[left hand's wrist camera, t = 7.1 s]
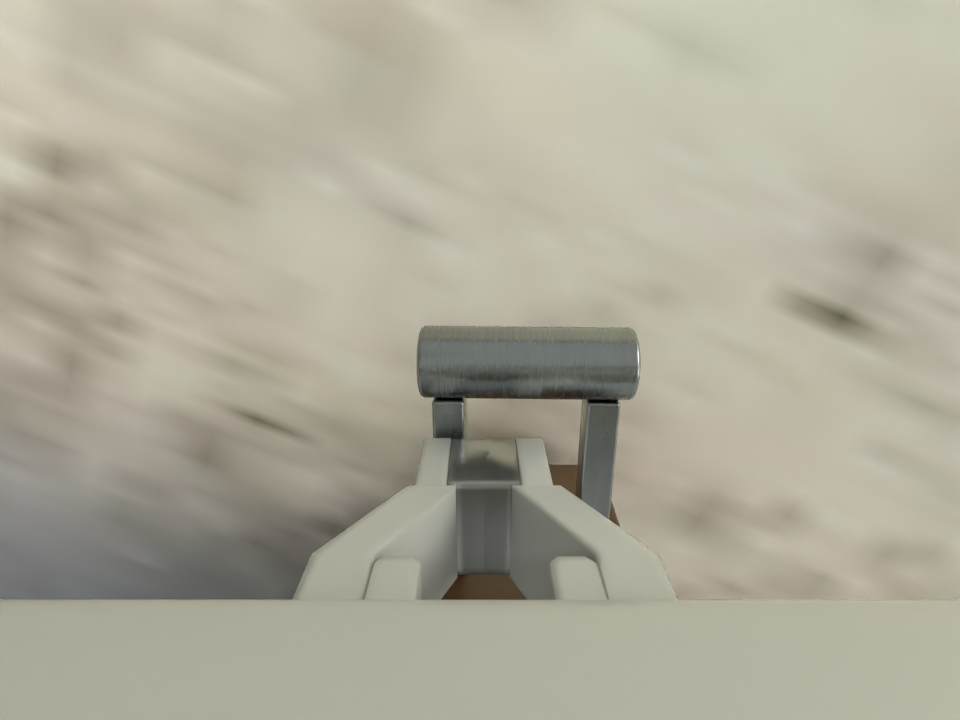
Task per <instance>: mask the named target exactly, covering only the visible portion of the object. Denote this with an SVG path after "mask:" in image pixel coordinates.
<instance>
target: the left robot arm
mask: <svg viewBox="0 0 960 720" xmlns="http://www.w3.org/2000/svg"><path fill="white" fill-rule="evenodd" d="M475 574H492V575H510V578H511V579H512V581H513V582H514V583H515V585H516V586H517V587H518V588H519V590H520V591H521V592H522V594H523V595H524V596H525V598H526V599H527V600H441V599H442V597H443V596H444V595H445V593H446V592H447V591H448V589H449V588H450V587H451V586H452V584H453V583H454V582H455V580H456V579H457V578H458V576H457V575H475ZM0 720H960V600H678V597H677V595H676V593H675V591H674V588H673V586H672V584H671V581H670V579H669V577H668V575H667V572H666V570H665V568H664V565H663V563H662V561H661V559H660V556H659V555H658V554H657V553H655V552H654V551H653V550H651V549H650V548H648V547H647V546H645V545H644V544H643V543H641V542H640V541H638V540H637V539H636V538H634V537H633V536H631V535H630V534H629V533H627V532H626V531H624V530H623V529H621V528H620V527H619V526H617V525H616V524H614V523H613V522H612V521H610V520H609V519H607V518H606V517H605V516H603V515H602V514H600V513H599V512H597V511H596V510H595V509H593V508H592V507H590V506H589V505H588V504H586V503H585V502H583V501H582V500H581V499H579V498H578V497H576V496H575V495H573V494H572V493H571V492H569V491H568V490H566V489H565V488H564V487H562V486H561V485H553V482H552V478H551V473H550V469H549V464H548V460H547V455H546V451H545V446H544V442H543V439H542V438H519V439H515V438H505V439H467V438H452V440H451V438H425V440H424V441H423V445H422V450H421V455H420V460H419V465H418V470H417V476H416V481H415V485H407V486H406V487H404V488H403V489H401V490H400V491H399V492H397V493H396V494H394V495H393V496H392V497H390V498H389V499H388V500H386V501H385V502H383V503H382V504H381V505H379V506H378V507H376V508H375V509H374V510H372V511H371V512H369V513H368V514H367V515H365V516H364V517H362V518H361V519H360V520H358V521H357V522H356V523H354V524H353V525H351V526H350V527H349V528H347V529H346V530H344V531H343V532H342V533H340V534H339V535H337V536H336V537H335V538H333V539H332V540H330V541H329V542H328V543H326V544H325V545H324V546H322V547H321V548H319V549H318V550H317V551H315V552H314V553H312V554H311V556H310V559H309V561H308V563H307V566H306V568H305V571H304V573H303V575H302V578H301V580H300V582H299V585H298V587H297V589H296V592H295V594H294V597H293V599H292V600H0Z"/></svg>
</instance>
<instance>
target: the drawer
mask: <svg viewBox="0 0 960 720" xmlns="http://www.w3.org/2000/svg"><path fill="white" fill-rule="evenodd" d="M639 378H640V348H639V342H638V338H637V335H636V333H635V331H634V330H633V329H631V328H612V327H498V326H424V327H422V328H421V331H420V333H419V338H418V346H417V382H418V388H419V392H420V394H421V396H423V397H429V398H433V402H432V413H433V438H451V440H452V438H467V403H466V398H505V399H582V411H581V425H580V439H579V454H578V465H549V469H550V473H551V478H552V482H553V485H561V486H562V487H564V488H565V489H566V490H568V491H569V492H571V493H572V494H573V495H575V496H576V497H578V498H579V499H581V500H582V501H583V502H585V503H586V504H588V505H589V506H590V507H592V508H593V509H595V510H596V511H597V512H599V513H600V514H602V515H603V516H605V517H606V518H607V519H609V520H610V521H612V522H613V523H614V524H616V525H617V526H619V527H620V525H619V522H618V519H617V516H616V513H615V510H614V507H613V504H612V501H611V495H612V485H613V475H614V464H615V454H616V444H617V434H618V423H619V413H620V403H619V401H618V400H630V399H632V398H633V397H634V396H635V394H636V391H637V388H638V384H639ZM457 576H458V578H457V579H456V580H455V582H454V583H453V584H452V586H451V587H450V588H449V589H448V591H447V592H446V593H445V595H444V596H443V597H442V599H441V600H527V599H526V598H525V596H524V595H523V594H522V592H521V591H520V590H519V588H518V587H517V586H516V585H515V583H514V582H513V581H512V579H511V578H510V575H492V574H475V575H457Z"/></svg>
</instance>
